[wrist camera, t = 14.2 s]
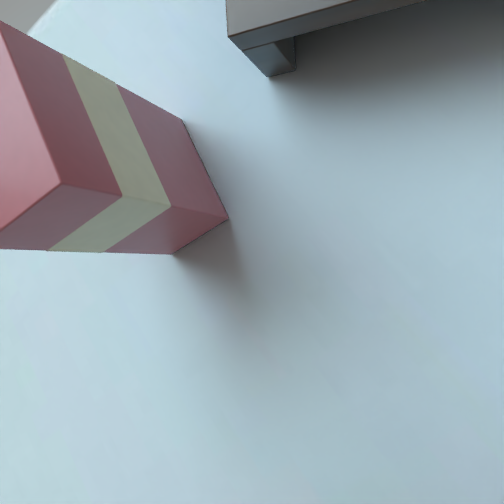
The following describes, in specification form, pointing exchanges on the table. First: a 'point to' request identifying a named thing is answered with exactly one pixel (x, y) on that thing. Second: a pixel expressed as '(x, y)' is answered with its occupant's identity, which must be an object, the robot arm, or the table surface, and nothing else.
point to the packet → (92, 161)
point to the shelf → (290, 25)
